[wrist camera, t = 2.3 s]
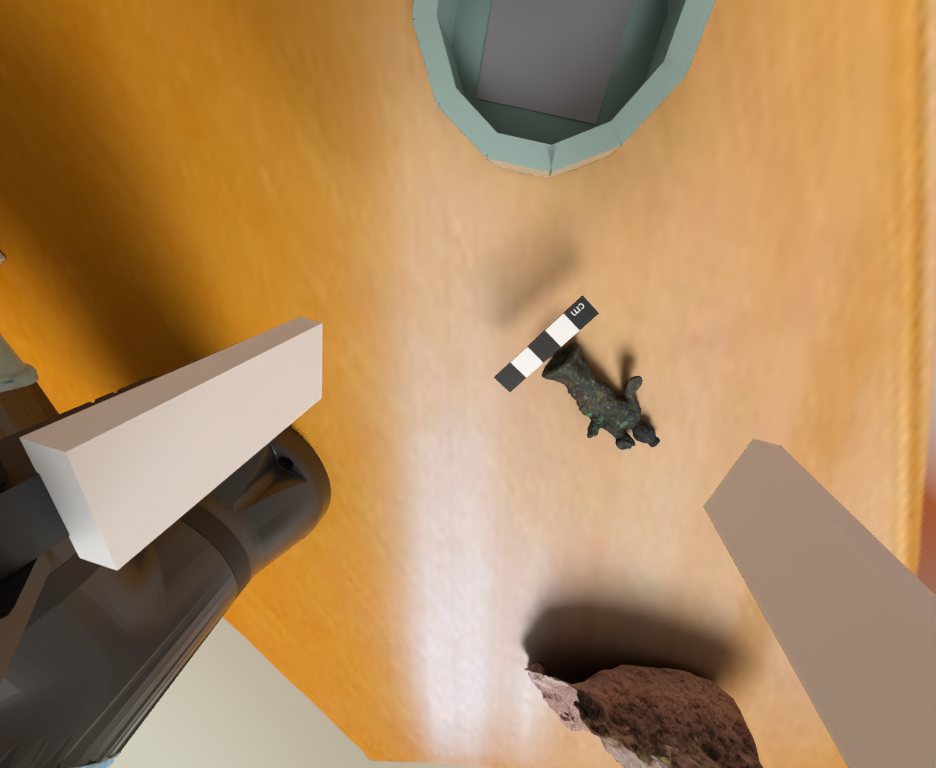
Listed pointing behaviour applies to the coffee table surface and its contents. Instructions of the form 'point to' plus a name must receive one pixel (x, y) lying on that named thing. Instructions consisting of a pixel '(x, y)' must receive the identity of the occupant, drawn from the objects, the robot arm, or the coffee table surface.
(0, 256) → the coffee box
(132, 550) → the robot arm
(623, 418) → the figurine
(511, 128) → the bowl
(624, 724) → the rock
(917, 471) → the coffee table surface
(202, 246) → the coffee table surface
